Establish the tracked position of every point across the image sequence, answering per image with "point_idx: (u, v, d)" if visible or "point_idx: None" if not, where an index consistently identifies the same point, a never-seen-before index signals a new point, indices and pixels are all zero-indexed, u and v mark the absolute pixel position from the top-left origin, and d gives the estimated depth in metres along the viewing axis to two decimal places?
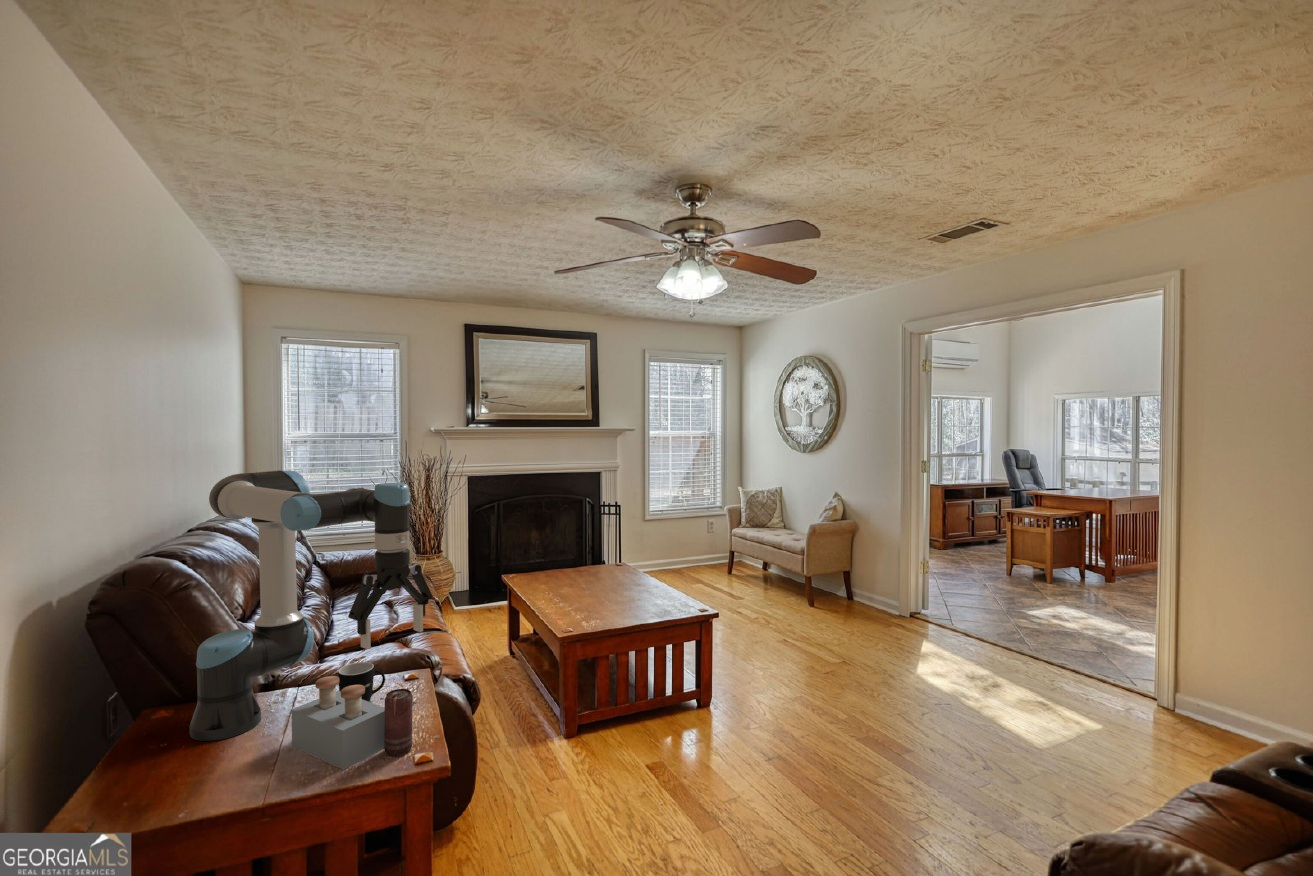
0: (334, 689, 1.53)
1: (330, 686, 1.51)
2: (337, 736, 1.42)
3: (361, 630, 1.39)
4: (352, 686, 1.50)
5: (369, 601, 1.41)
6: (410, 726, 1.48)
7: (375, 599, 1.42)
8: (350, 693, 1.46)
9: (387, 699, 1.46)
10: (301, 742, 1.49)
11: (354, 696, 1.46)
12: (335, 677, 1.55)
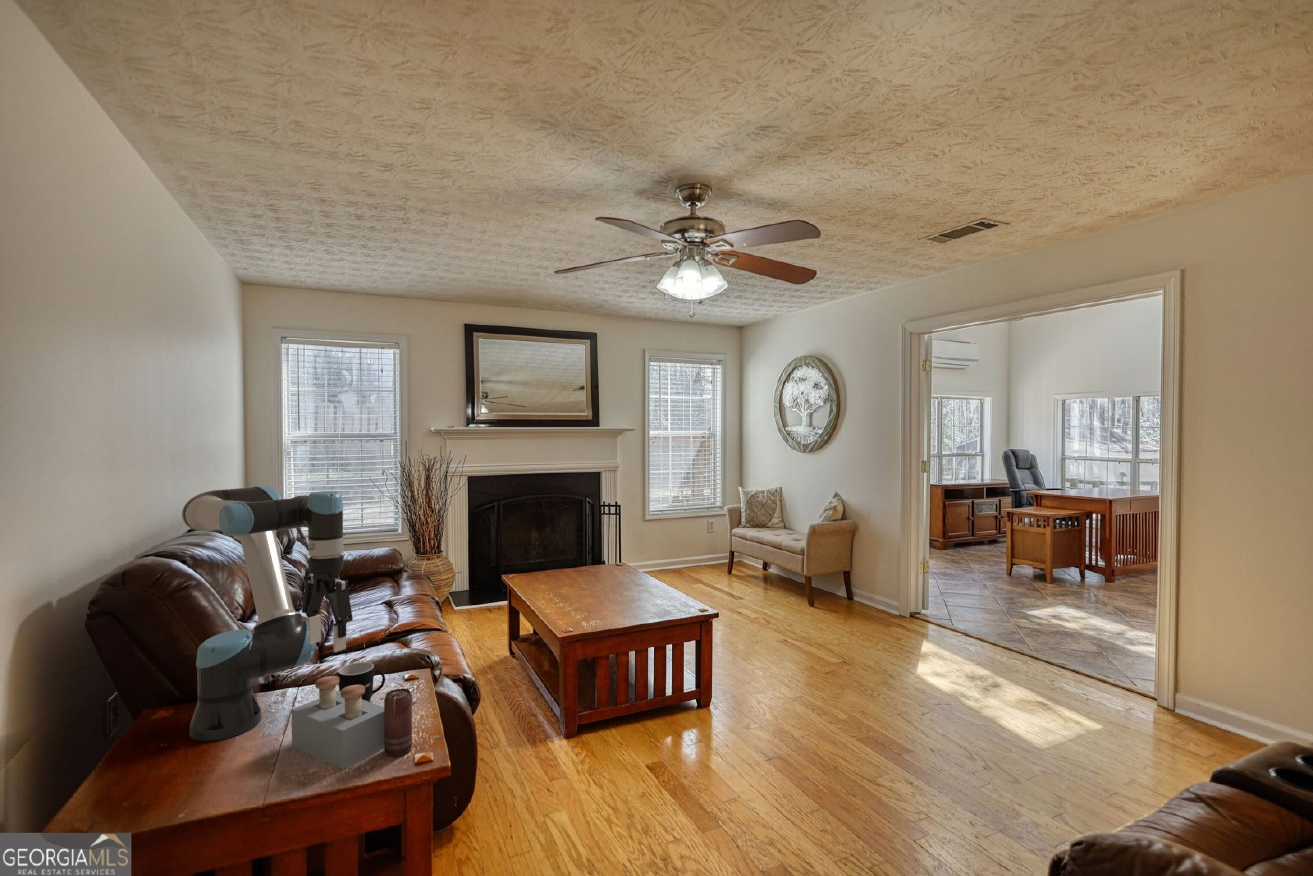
0: (334, 689, 1.53)
1: (330, 686, 1.51)
2: (337, 736, 1.42)
3: None
4: (352, 686, 1.50)
5: None
6: (410, 726, 1.49)
7: (311, 599, 1.53)
8: (350, 693, 1.46)
9: (386, 699, 1.46)
10: (301, 742, 1.49)
11: (354, 696, 1.46)
12: (335, 677, 1.55)
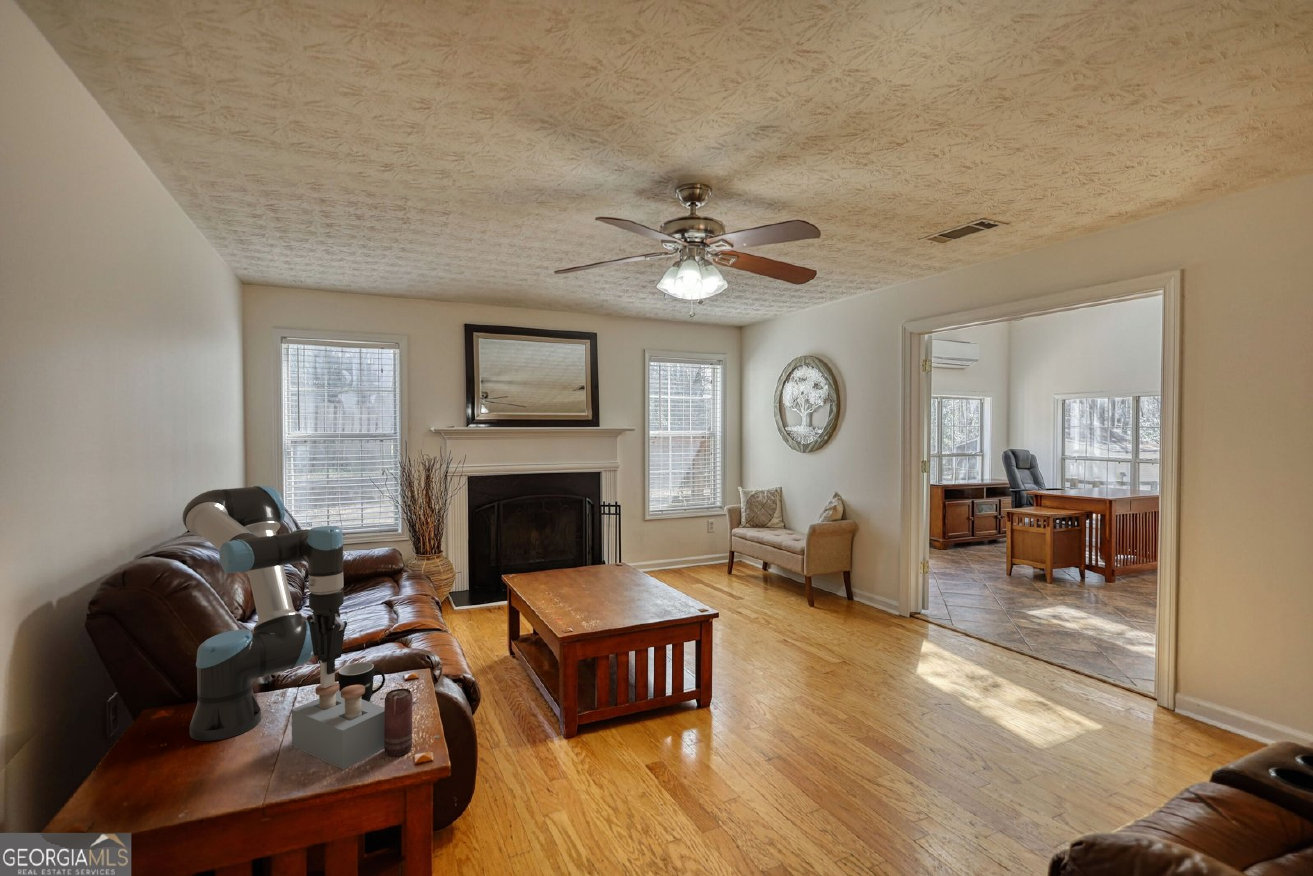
0: (334, 695, 1.53)
1: (330, 692, 1.51)
2: (337, 736, 1.42)
3: None
4: (352, 686, 1.50)
5: None
6: (410, 726, 1.49)
7: (318, 639, 1.53)
8: (350, 693, 1.46)
9: (387, 698, 1.47)
10: (301, 742, 1.49)
11: (354, 696, 1.46)
12: (335, 683, 1.55)
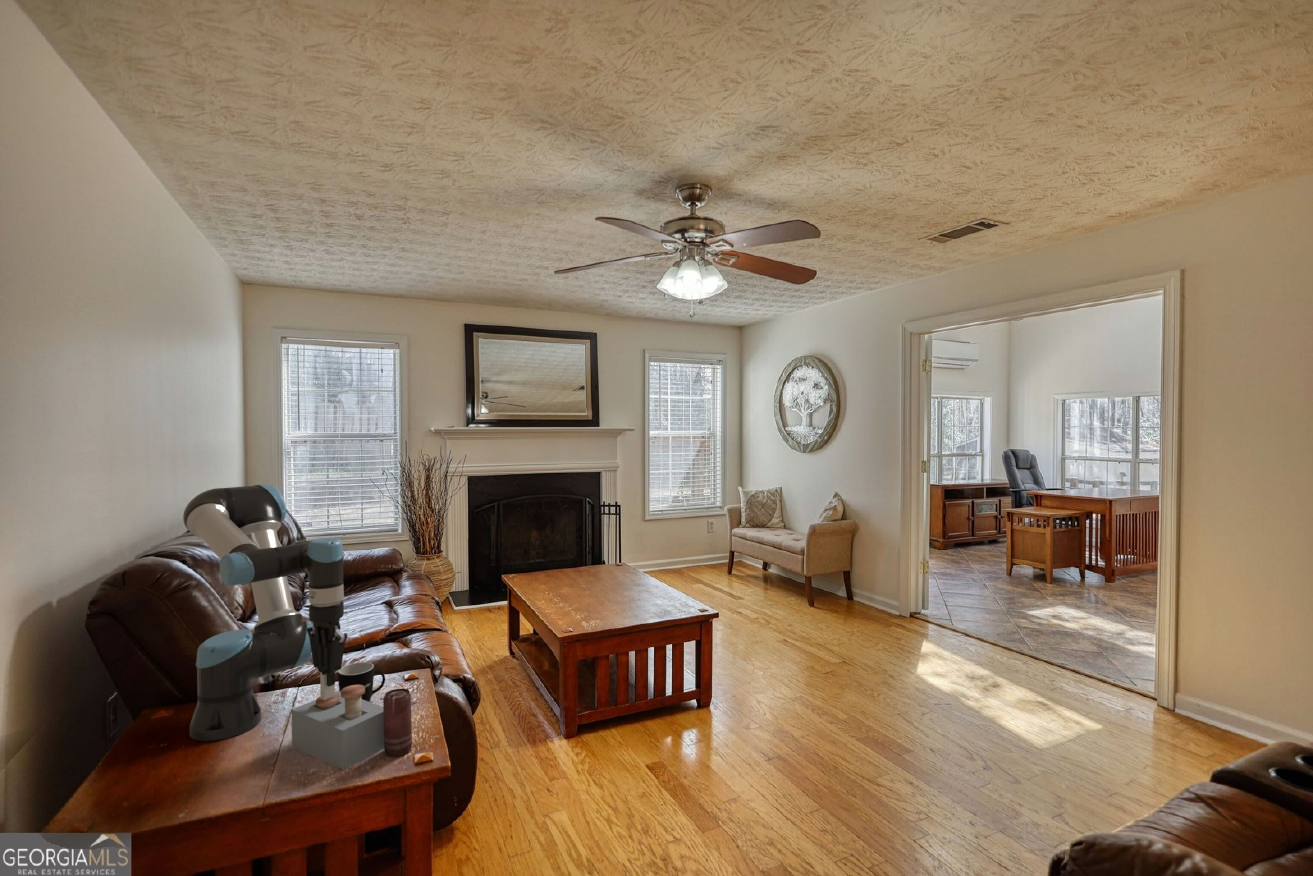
0: None
1: (330, 704, 1.51)
2: (337, 736, 1.42)
3: None
4: (352, 686, 1.50)
5: None
6: (409, 725, 1.49)
7: (318, 651, 1.53)
8: (350, 693, 1.46)
9: (385, 699, 1.47)
10: (301, 742, 1.49)
11: (354, 696, 1.46)
12: (335, 694, 1.55)
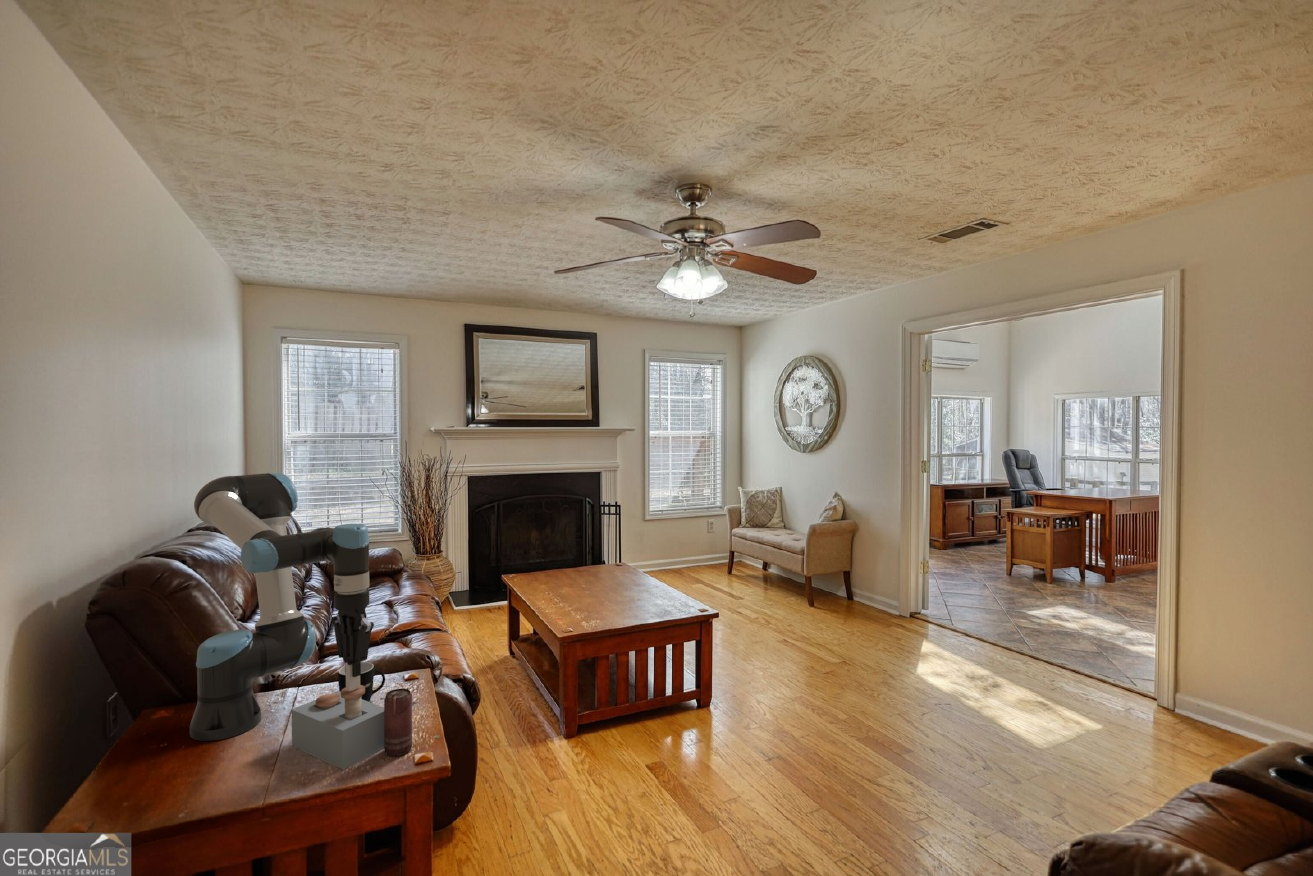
0: None
1: (330, 704, 1.51)
2: (337, 736, 1.42)
3: (345, 669, 1.48)
4: None
5: None
6: (410, 725, 1.49)
7: (343, 640, 1.48)
8: (350, 693, 1.46)
9: (387, 698, 1.47)
10: (301, 742, 1.49)
11: (354, 696, 1.46)
12: (335, 694, 1.55)
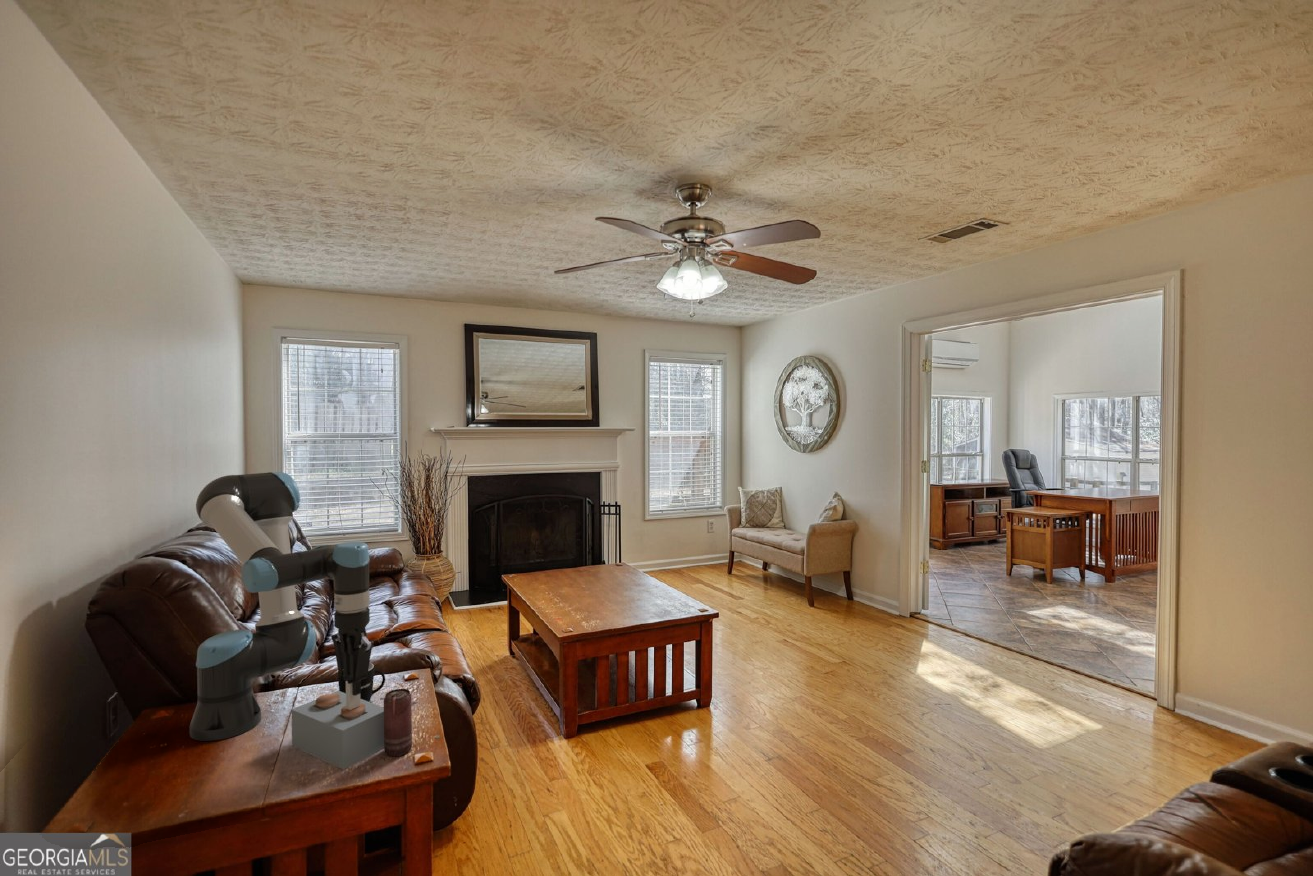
0: None
1: (330, 704, 1.51)
2: (337, 736, 1.42)
3: (346, 688, 1.48)
4: None
5: None
6: (410, 726, 1.49)
7: (343, 659, 1.48)
8: (350, 712, 1.46)
9: (386, 699, 1.46)
10: (301, 742, 1.49)
11: (354, 715, 1.46)
12: (335, 694, 1.55)
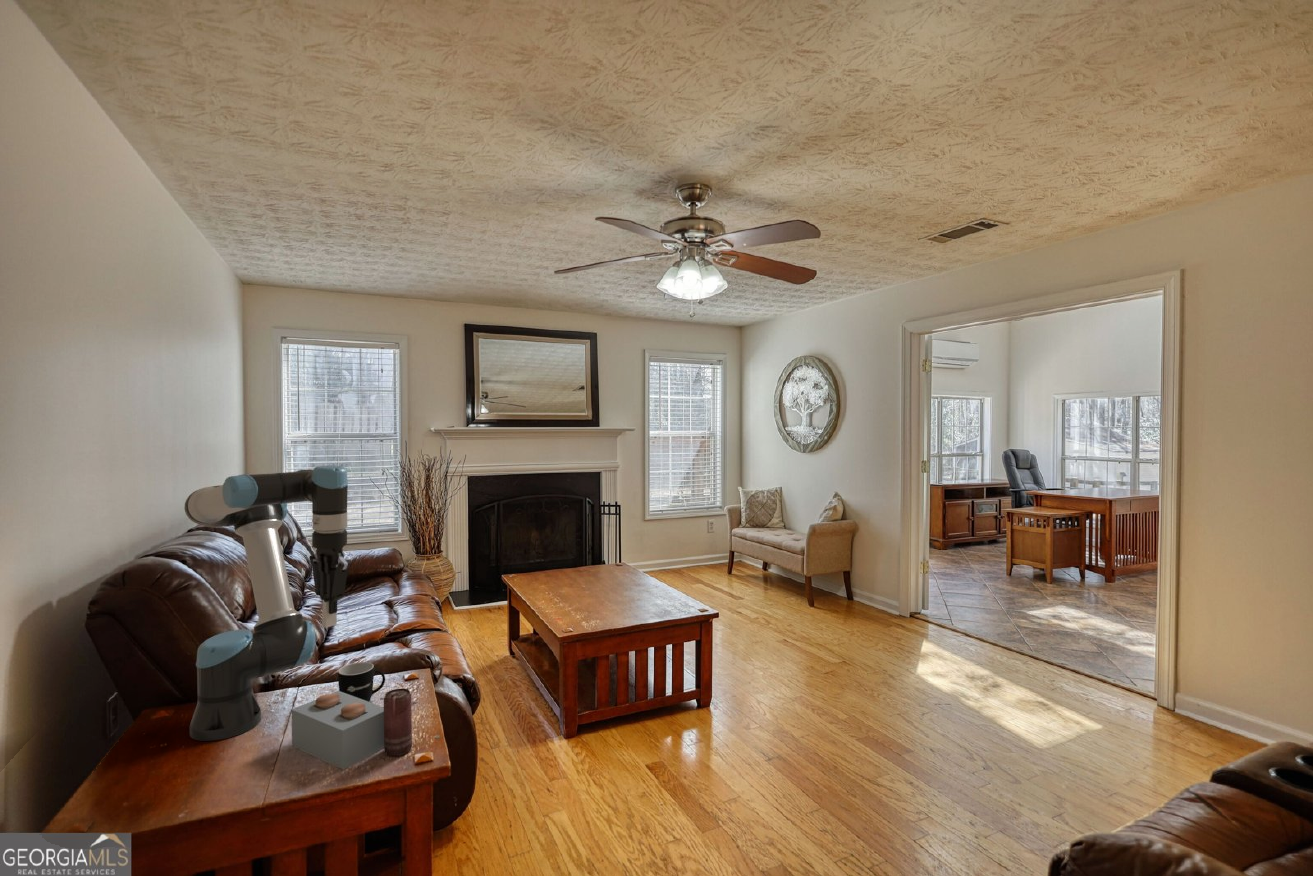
0: None
1: (330, 704, 1.51)
2: (337, 736, 1.42)
3: None
4: (352, 704, 1.50)
5: None
6: (410, 725, 1.49)
7: (321, 578, 1.51)
8: (350, 712, 1.46)
9: (386, 698, 1.47)
10: (301, 742, 1.49)
11: (354, 715, 1.46)
12: (335, 694, 1.55)
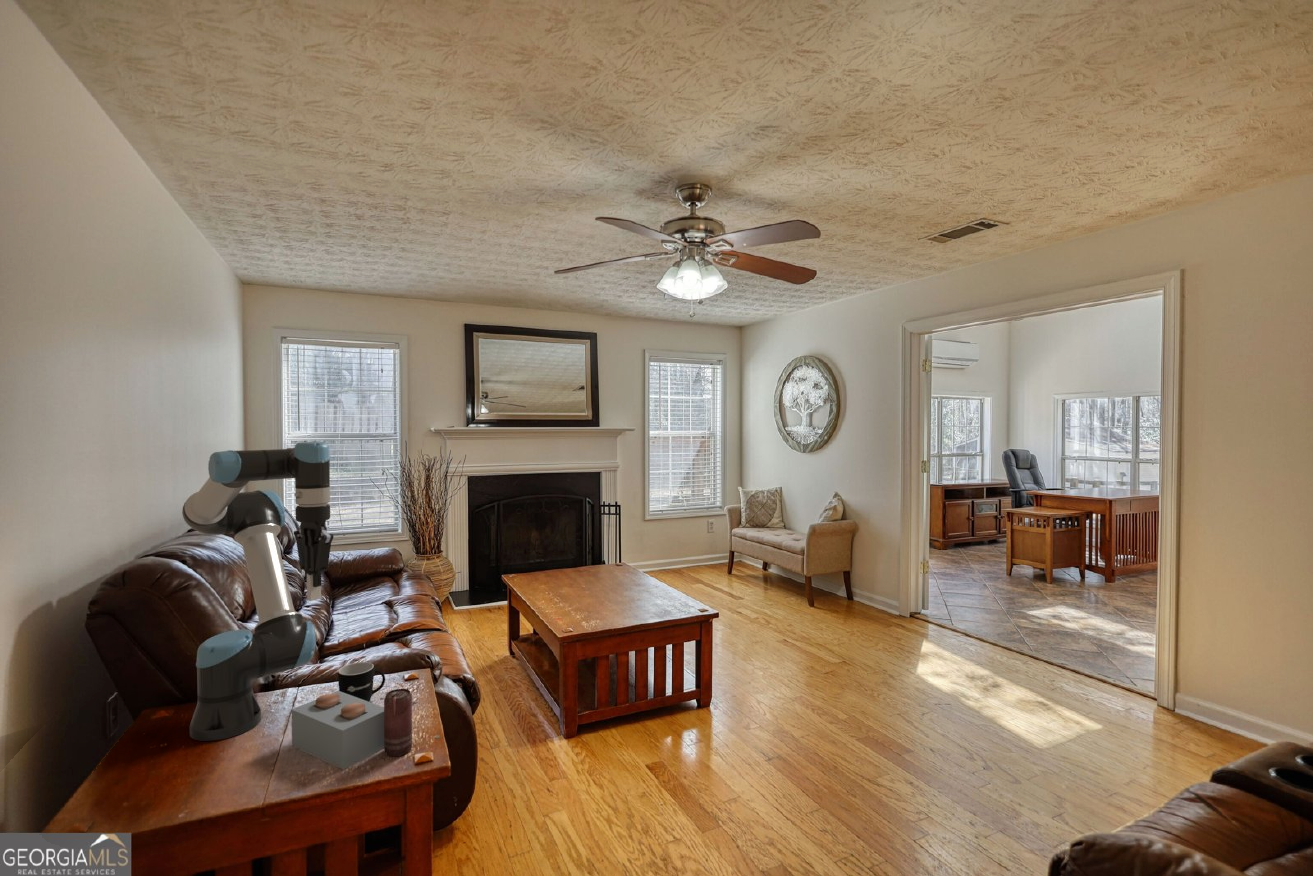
0: None
1: (330, 704, 1.51)
2: (337, 736, 1.42)
3: None
4: (352, 704, 1.50)
5: None
6: (410, 726, 1.49)
7: (305, 552, 1.54)
8: (350, 712, 1.46)
9: (387, 699, 1.46)
10: (301, 742, 1.49)
11: (354, 715, 1.46)
12: (335, 694, 1.55)
